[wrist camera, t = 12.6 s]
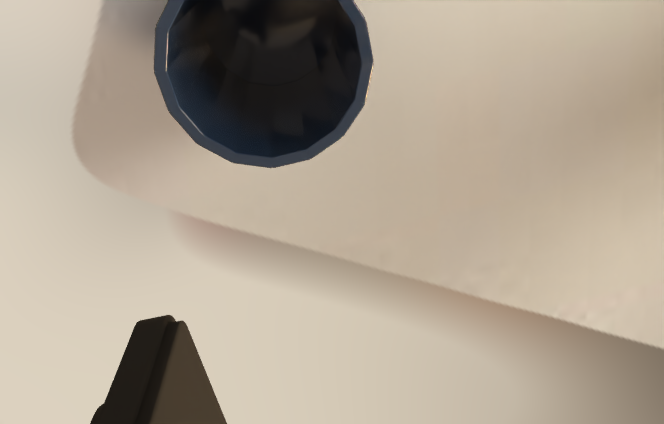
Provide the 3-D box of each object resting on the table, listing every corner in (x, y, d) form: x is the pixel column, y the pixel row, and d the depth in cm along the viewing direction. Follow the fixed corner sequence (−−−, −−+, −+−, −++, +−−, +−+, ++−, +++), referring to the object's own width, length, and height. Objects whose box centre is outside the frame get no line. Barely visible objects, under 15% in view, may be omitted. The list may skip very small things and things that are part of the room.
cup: (324, -79, 25) (348, -77, 16) (354, 71, 28) (388, 141, 19) (175, -42, 25) (119, -21, 16) (221, 103, 28) (195, 186, 20)
